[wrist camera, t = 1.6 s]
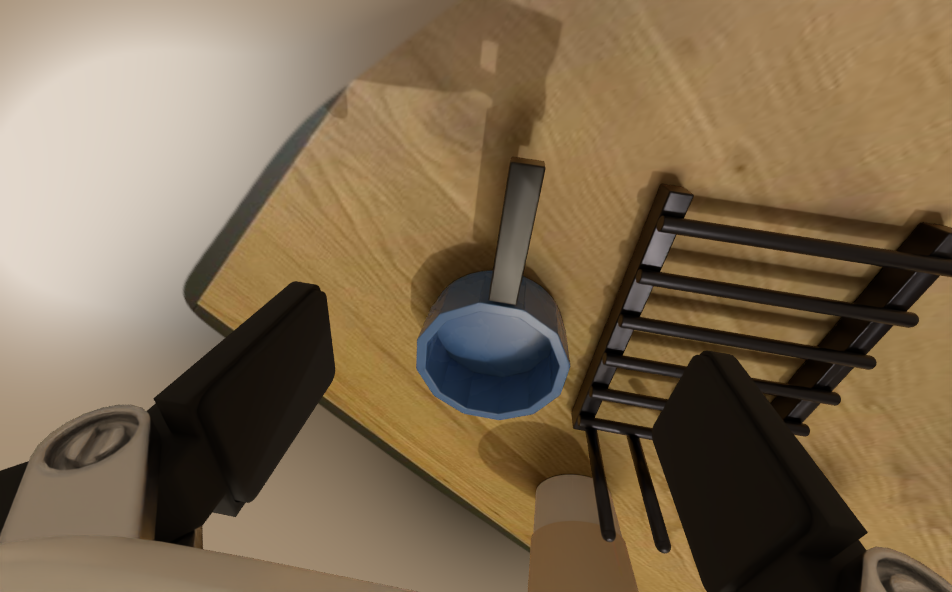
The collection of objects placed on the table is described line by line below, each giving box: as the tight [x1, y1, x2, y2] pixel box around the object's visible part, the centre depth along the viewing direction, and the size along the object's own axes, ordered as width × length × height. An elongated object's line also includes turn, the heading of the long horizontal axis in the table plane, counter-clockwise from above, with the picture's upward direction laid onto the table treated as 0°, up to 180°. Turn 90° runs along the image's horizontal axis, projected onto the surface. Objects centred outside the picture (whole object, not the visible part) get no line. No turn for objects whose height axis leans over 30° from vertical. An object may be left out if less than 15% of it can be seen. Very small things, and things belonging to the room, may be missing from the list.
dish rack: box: [571, 184, 952, 553], centre depth 19 cm, size 18×14×9 cm
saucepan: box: [416, 157, 570, 420], centre depth 21 cm, size 16×9×4 cm, turn 174°
